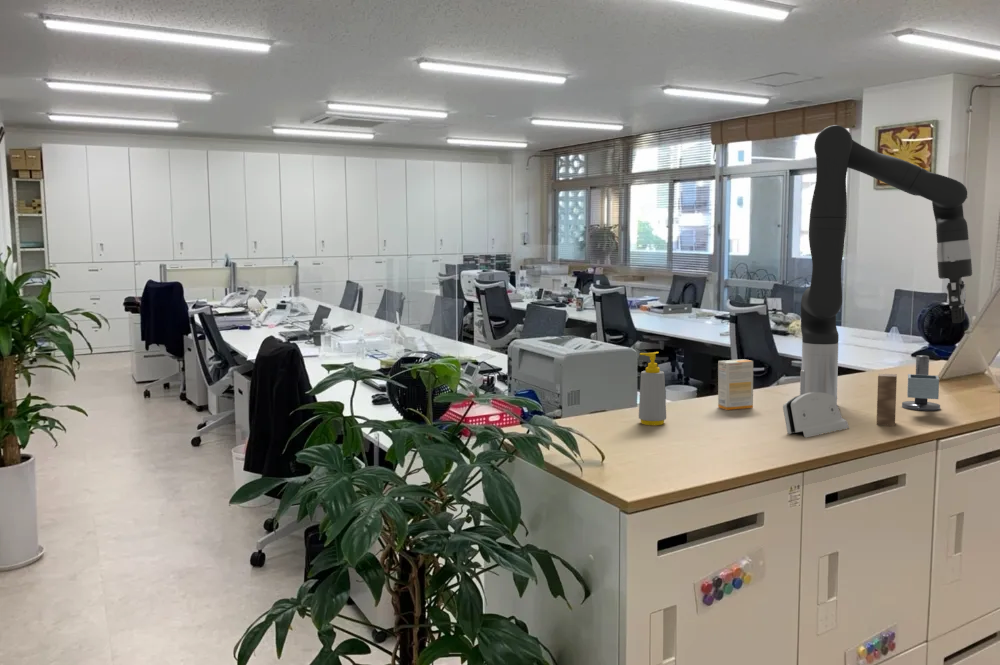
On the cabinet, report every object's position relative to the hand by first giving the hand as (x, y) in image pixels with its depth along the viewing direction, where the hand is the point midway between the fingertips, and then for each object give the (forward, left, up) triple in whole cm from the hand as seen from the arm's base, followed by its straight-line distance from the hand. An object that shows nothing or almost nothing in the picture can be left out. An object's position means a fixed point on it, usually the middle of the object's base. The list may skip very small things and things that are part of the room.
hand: (958, 321), depth 197 cm
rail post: (-16, -23, -24) cm, 37 cm away
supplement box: (-53, -17, -24) cm, 60 cm away
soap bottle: (-68, -45, -24) cm, 85 cm away
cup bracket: (-8, -3, -24) cm, 25 cm away
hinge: (-31, -37, -24) cm, 54 cm away
